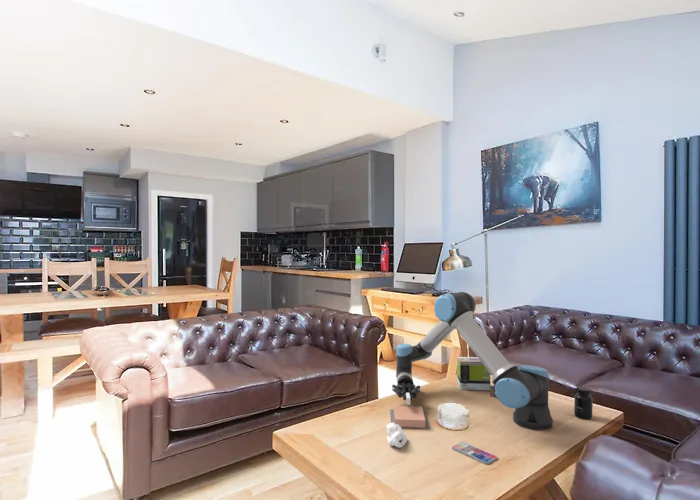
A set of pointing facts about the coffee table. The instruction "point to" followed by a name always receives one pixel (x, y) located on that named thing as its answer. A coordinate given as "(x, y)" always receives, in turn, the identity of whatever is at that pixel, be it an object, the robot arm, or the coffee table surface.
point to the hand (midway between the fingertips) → (408, 401)
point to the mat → (407, 427)
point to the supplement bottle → (583, 404)
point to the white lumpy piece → (395, 435)
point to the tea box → (472, 374)
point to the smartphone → (475, 453)
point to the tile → (409, 416)
